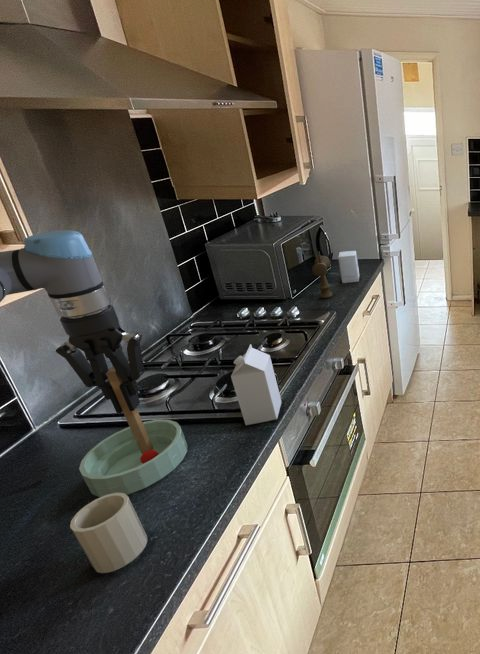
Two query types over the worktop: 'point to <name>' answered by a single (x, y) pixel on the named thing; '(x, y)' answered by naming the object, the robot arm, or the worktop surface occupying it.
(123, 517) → the crock
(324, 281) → the kendama
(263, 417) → the milk carton
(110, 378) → the stirring stick
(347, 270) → the white packaging box
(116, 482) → the bowl
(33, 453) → the worktop surface
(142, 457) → the cherry tomato
